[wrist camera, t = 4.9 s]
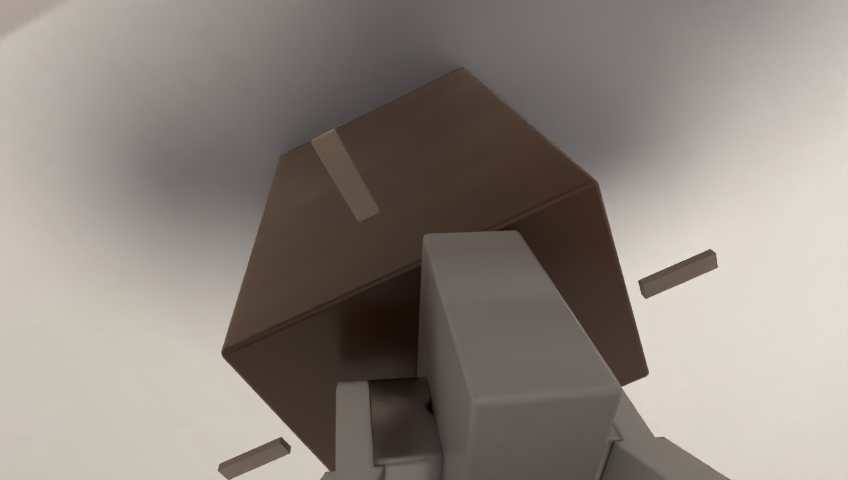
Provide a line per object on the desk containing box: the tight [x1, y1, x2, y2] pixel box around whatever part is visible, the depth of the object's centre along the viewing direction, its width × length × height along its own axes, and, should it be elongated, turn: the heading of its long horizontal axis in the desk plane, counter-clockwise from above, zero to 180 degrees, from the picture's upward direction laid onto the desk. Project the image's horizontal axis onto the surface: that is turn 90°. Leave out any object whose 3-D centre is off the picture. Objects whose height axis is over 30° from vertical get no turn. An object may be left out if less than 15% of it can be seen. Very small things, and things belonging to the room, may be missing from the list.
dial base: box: [218, 67, 718, 480], centre depth 14 cm, size 10×10×10 cm
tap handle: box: [417, 230, 622, 480], centre depth 8 cm, size 6×2×4 cm, turn 178°
